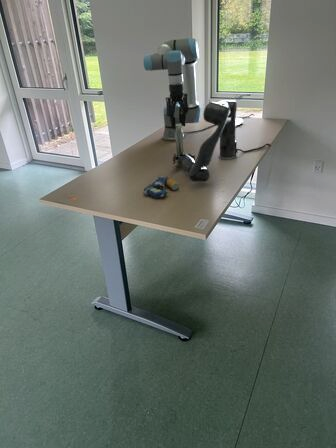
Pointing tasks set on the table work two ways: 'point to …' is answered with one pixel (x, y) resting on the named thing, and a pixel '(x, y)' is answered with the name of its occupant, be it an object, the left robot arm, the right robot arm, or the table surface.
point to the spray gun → (160, 183)
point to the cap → (178, 126)
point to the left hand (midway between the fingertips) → (178, 127)
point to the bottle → (179, 144)
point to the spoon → (238, 121)
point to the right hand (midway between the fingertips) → (178, 154)
